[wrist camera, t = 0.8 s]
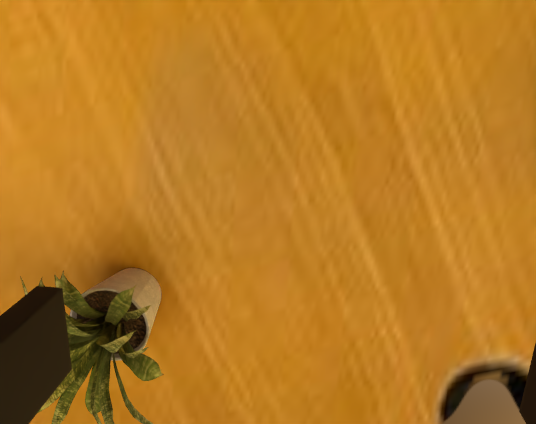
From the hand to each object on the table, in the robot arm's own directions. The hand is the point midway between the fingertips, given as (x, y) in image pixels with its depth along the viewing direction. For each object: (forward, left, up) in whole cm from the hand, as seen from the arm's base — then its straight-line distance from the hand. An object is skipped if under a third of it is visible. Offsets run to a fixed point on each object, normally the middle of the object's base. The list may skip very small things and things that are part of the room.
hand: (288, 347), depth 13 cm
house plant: (+10, -18, -29) cm, 36 cm away
